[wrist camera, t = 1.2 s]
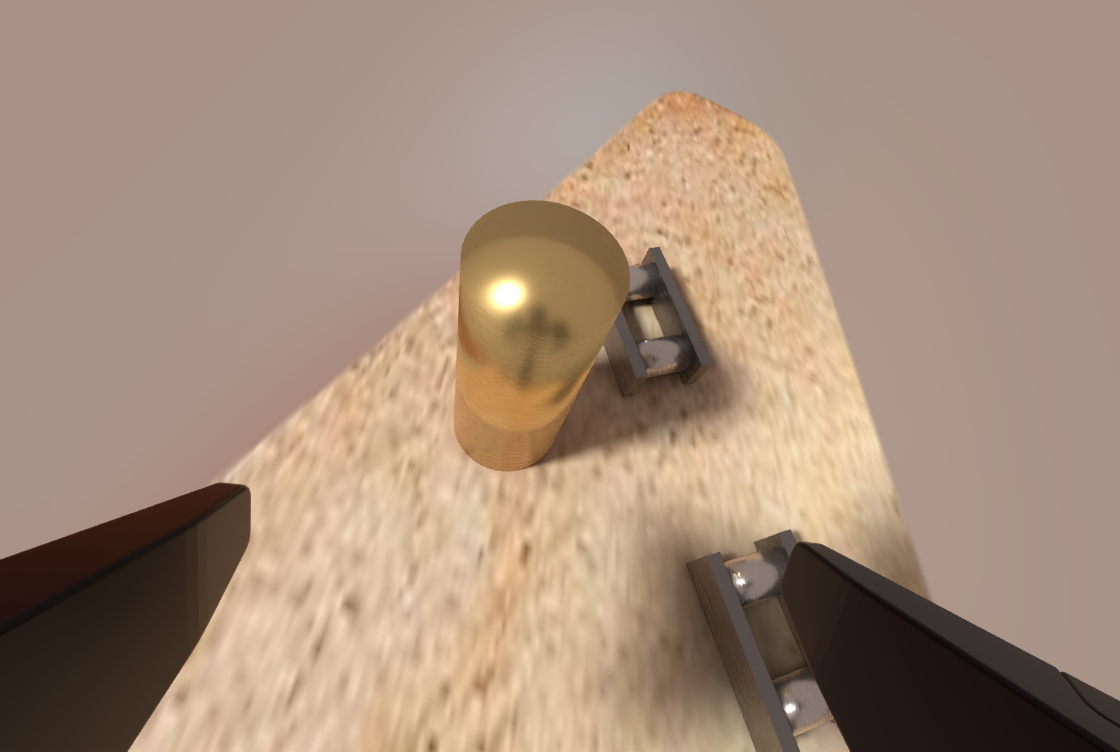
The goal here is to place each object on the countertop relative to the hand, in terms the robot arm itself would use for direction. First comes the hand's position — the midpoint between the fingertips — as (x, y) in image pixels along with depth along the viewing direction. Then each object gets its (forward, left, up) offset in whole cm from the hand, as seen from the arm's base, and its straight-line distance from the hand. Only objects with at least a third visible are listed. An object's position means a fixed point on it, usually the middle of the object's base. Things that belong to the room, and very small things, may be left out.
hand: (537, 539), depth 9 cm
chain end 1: (+15, -1, -13) cm, 20 cm away
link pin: (+7, +3, -13) cm, 15 cm away
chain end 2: (+3, -11, -13) cm, 17 cm away
